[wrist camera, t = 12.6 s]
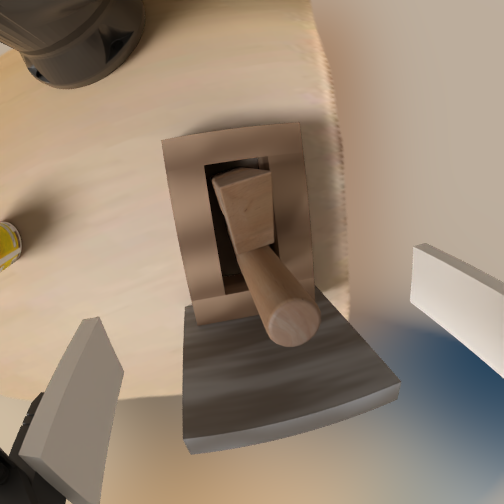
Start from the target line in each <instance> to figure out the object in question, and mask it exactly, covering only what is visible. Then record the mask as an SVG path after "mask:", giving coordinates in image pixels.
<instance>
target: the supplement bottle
mask: <svg viewBox="0 0 504 504" xmlns="http://www.w3.org/2000/svg"><path fill="white" fill-rule="evenodd" d="M21 248H22V244H21V238H20V235H19V233H18V231H17V229H16V228H15V227H14V226H13V225H12V224H10V223H8V222H0V272H2V271H3V270H4V269H6V268H7V267H8V266H10V265H11V264H13V263H14V262H15V261H16V260H17V259H18V258H19V256H20V253H21Z"/></svg>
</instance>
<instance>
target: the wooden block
mask: <svg viewBox="0 0 504 504" xmlns="http://www.w3.org/2000/svg"><path fill="white" fill-rule="evenodd" d="M210 180H211V183H212V186H213V189H214V192H215V195H216V198H217V201H218V205H219V207H220V209H221V211H222V213H223V215H224V216H225V219H226V221H225V226H226V229H227V232H228V235H229V238H230V241H231V244H232V247H233V250H234V253H235V256H236V259H237V262H238V265H239V267H240V270H241V272H242V274H243V276H244V279H245V281H246V284H247V286H248V288H249V291H250V293H251V296H252V298H253V301H254V303H255V305H256V308H257V310H258V313H259V315H260V317H261V320H262V322H263V325H264V327H265V329H266V332H267V334H268V335H269V337H270V339H271V340H273V341H274V342H275V343H276V344H279V345H281V346H284V347H295V346H299V345H302V344H304V343H306V342H307V341H309V340H310V339H311V338H312V337H313V336H314V335H315V334H316V332H317V331H318V329H319V326H320V323H321V311H320V309H319V307H318V305H317V304H316V302H315V301H314V300H313V299H312V297H311V296H310V295H309V294H308V293H307V291H306V290H305V289H304V288H303V287H302V285H301V284H300V283H299V282H298V280H297V279H296V278H295V277H294V276H293V274H292V273H291V272H290V271H289V270H288V268H287V267H286V266H285V265H284V264H283V262H282V261H281V260H280V259H279V257H278V256H277V255H276V254H275V253H274V251H273V250H272V249H271V248H270V247H269V244H272V243H274V211H273V181H272V172H271V171H267V170H260V169H253V168H251V169H249V168H242V167H237V168H233V169H230V170H227V171H224V172H221V173H218V174H215V175H212V176H211V178H210Z"/></svg>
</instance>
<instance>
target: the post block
mask: <svg viewBox="0 0 504 504" xmlns="http://www.w3.org/2000/svg"><path fill="white" fill-rule="evenodd" d="M161 141H162V148H163V155H164V162H165V168H166V174H167V181H168V187H169V192H170V198H171V204H172V209H173V215H174V220H175V225H176V231H177V236H178V241H179V246H180V251H181V255H182V260H183V265H184V269H185V274H186V279H187V283H188V287H189V292H190V296H191V300H192V305H193V306H188V307H185V317H184V343H183V440H184V442H185V444H186V446H187V448H188V450H189V452H190V454H200V453H208V452H215V451H222V450H228V449H234V448H240V447H245V446H250V445H255V444H260V443H265V442H269V441H274V440H278V439H282V438H286V437H290V436H293V435H297V434H301V433H305V432H308V431H312V430H315V429H318V428H322V427H325V426H328V425H331V424H334V423H337V422H340V421H343V420H346V419H349V418H351V417H354V416H357V415H360V414H363V413H365V412H368V411H370V410H373V409H376V408H378V407H380V406H383V405H385V404H387V403H390V402H392V401H395V400H397V398H398V394H399V389H400V386H401V381H400V380H399V379H398V377H397V376H396V375H395V374H394V373H393V372H392V371H391V369H390V368H388V366H387V365H386V364H385V363H384V361H383V360H382V359H381V358H380V357H379V356H378V355H377V354H376V352H375V351H374V350H373V349H372V348H371V347H370V346H369V344H368V343H367V342H366V341H365V340H364V339H363V338H362V337H361V336H360V334H359V333H358V332H357V331H356V330H355V329H354V328H353V327H352V326H351V325H350V323H349V322H348V321H347V320H346V319H345V318H344V317H343V316H342V314H341V313H340V312H339V311H338V310H337V309H336V308H335V307H334V306H333V305H332V303H331V302H330V301H329V300H328V299H327V298H326V297H325V296H324V295H323V294H322V292H321V291H320V290H319V289H318V288H317V287H316V286H315V285H314V269H313V253H312V239H311V226H310V214H309V203H308V192H307V182H306V173H305V164H304V155H303V146H302V138H301V130H300V123H299V122H297V123H283V124H271V125H260V126H251V127H242V128H234V129H226V130H219V131H212V132H205V133H199V134H193V135H187V136H181V137H176V138H170V139H165V140H161ZM257 157H258V163H259V169H260V170H267V171H271V172H272V181H273V211H274V243H272V244H269V247H270V248H271V249H272V250H273V251H274V253H275V254H276V255H277V256H278V257H279V259H280V260H281V261H282V262H283V264H284V265H285V266H286V267H287V268H288V270H289V271H290V272H291V273H292V274H293V276H294V277H295V278H296V279H297V280H298V282H299V283H300V284H301V285H302V287H303V288H304V289H305V290H306V291H307V293H308V294H309V295H310V296H311V297H312V299H313V300H314V301H315V302H316V304H317V305H318V307H319V309H320V311H321V323H320V326H319V329H318V331H317V332H316V334H315V335H314V336H313V337H312V338H311V339H310V340H309V341H307V342H306V343H304V344H302V345H299V346H295V347H284V346H281V345H279V344H276V343H275V342H274V341H273V340H271V339H270V337H269V335H268V334H267V332H266V329H265V327H264V325H263V322H262V320H261V317H260V315H259V313H258V310H257V308H256V305H255V303H254V301H253V298H252V296H251V293H250V291H249V288H248V286H247V284H246V281H245V279H244V276H243V274H242V273H241V274H235V275H230V276H225V277H222V274H221V268H220V262H219V257H218V251H217V245H216V239H215V233H214V227H213V221H212V215H211V209H210V202H209V196H208V190H207V183H206V176H205V170H204V165H208V164H214V163H221V162H228V161H234V160H242V159H249V158H257Z"/></svg>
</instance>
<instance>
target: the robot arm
mask: <svg viewBox="0 0 504 504" xmlns="http://www.w3.org/2000/svg"><path fill="white" fill-rule="evenodd" d="M144 26H145V8H144V5H143V2H142V0H0V42H1V43H3V44H5V45H7V46H9V47H11V48H13V49H16V50H17V51H19V52H20V54H21V56H22V58H23V60H24V62H25V64H26V66H27V68H28V70H29V71H30V73H31V74H32V75H33V76H34V77H35V78H36V79H37V80H39V81H40V82H42V83H45V84H47V85H49V86H51V87H54V88H59V89H74V88H80V87H83V86H87V85H89V84H92V83H94V82H96V81H98V80H100V79H102V78H104V77H105V76H107V75H108V74H110V73H111V72H112V71H114V70H115V69H116V68H117V67H119V66H120V65H121V64H122V63H123V62H124V61H125V60H126V59H127V57H128V56H129V55H130V54H131V53H132V51H133V50H134V48H135V47H136V45H137V44H138V42H139V40H140V38H141V35H142V33H143V30H144ZM410 302H411V303H412V304H414V305H415V306H416V307H418V308H419V309H420V310H421V311H423V312H424V313H426V314H427V315H428V316H429V317H431V318H432V319H433V320H434V321H436V322H437V323H438V324H439V325H441V326H442V327H443V328H444V329H446V330H447V331H448V332H449V333H451V334H452V335H453V336H454V337H455V338H457V339H458V340H459V341H460V342H462V343H463V344H464V345H465V346H467V347H468V348H469V349H470V350H471V351H472V352H474V353H475V354H476V355H477V356H478V357H480V358H481V359H482V360H483V361H484V362H486V363H487V364H488V365H489V366H490V367H491V368H492V369H494V370H495V371H496V372H497V373H498V374H499V375H500V376H502V377H503V378H504V283H503V282H502V281H500V280H498V279H496V278H494V277H492V276H490V275H489V274H487V273H485V272H483V271H481V270H479V269H477V268H475V267H473V266H471V265H469V264H468V263H466V262H464V261H462V260H460V259H458V258H456V257H454V256H452V255H449V254H447V253H445V252H443V251H441V250H439V249H437V248H435V247H433V246H431V245H429V244H426V243H424V244H421V245H417V246H414V247H413V267H412V284H411V296H410ZM123 375H124V370H123V368H122V366H121V364H120V362H119V360H118V358H117V356H116V354H115V351H114V349H113V347H112V345H111V343H110V340H109V338H108V336H107V334H106V331H105V329H104V327H103V324H102V322H101V320H100V317H95V318H90V319H84V320H82V322H81V324H80V326H79V327H78V329H77V331H76V333H75V335H74V336H73V338H72V340H71V342H70V344H69V345H68V347H67V349H66V351H65V353H64V355H63V357H62V359H61V360H60V362H59V364H58V366H57V368H56V370H55V372H54V374H53V376H52V378H51V380H50V382H49V384H48V386H47V388H46V391H45V392H41V393H40V394H39V395H38V396H37V397H36V399H35V400H34V401H33V402H32V403H31V406H30V408H29V410H28V412H27V416H25V418H24V421H23V426H21V427H20V430H19V432H18V434H17V437H16V439H15V442H14V444H13V447H12V449H11V452H10V454H9V457H8V455H7V454H6V453H5V452H4V451H3V450H2V449H1V448H0V504H65V502H66V499H67V500H69V501H70V502H71V503H72V504H100V497H101V489H102V482H103V475H104V469H105V462H106V456H107V451H108V445H109V440H110V434H111V429H112V424H113V419H114V414H115V409H116V405H117V401H118V396H119V392H120V387H121V383H122V379H123Z"/></svg>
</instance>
